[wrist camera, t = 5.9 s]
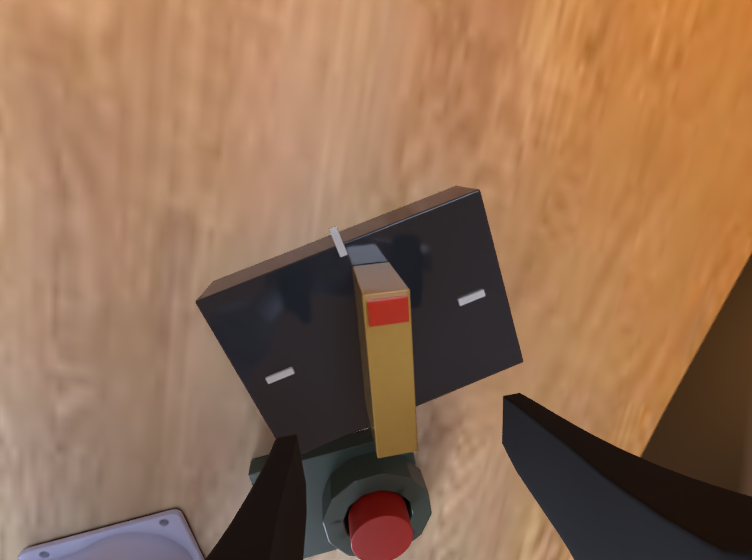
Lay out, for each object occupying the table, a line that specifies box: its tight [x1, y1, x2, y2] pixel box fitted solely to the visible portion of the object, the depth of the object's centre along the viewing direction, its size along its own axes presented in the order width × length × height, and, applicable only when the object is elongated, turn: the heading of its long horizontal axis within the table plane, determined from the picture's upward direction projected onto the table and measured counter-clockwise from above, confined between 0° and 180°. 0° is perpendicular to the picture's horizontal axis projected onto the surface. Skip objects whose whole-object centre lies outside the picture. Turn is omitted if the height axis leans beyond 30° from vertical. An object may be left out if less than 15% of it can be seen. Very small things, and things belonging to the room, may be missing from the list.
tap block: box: [196, 186, 523, 454], centre depth 20 cm, size 14×12×3 cm
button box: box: [249, 429, 431, 559], centre depth 23 cm, size 10×8×3 cm
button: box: [348, 490, 413, 560], centre depth 22 cm, size 4×4×2 cm
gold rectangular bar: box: [352, 262, 418, 458], centre depth 16 cm, size 8×2×4 cm, turn 5°
